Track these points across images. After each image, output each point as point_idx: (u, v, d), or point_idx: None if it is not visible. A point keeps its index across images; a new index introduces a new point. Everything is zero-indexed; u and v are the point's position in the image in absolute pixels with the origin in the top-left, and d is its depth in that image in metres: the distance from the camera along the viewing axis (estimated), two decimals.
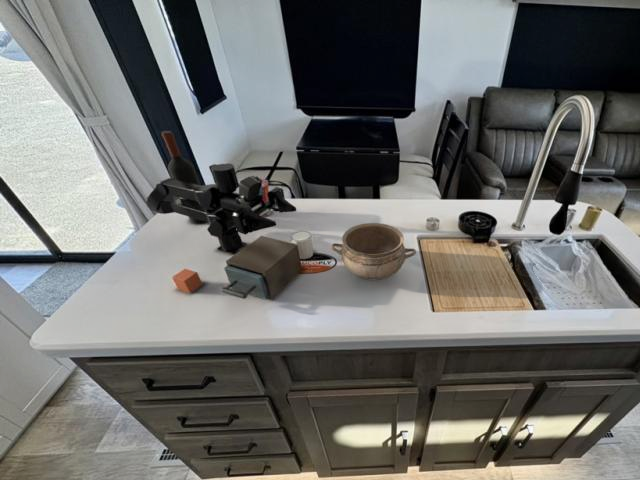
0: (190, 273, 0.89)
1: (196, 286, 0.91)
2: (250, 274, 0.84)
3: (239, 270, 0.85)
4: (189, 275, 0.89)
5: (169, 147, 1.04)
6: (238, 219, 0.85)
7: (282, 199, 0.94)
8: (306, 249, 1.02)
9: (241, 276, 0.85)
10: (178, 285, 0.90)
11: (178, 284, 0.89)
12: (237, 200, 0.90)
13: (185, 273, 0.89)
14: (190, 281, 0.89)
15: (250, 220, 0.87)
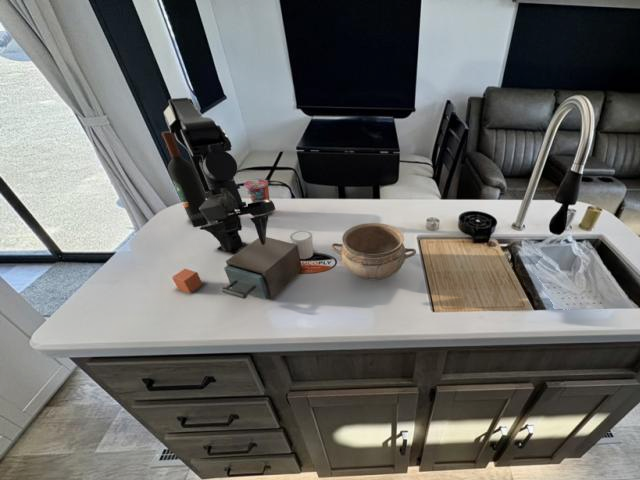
0: (190, 273, 0.89)
1: (196, 286, 0.91)
2: (250, 274, 0.84)
3: (239, 270, 0.85)
4: (189, 275, 0.89)
5: (169, 147, 1.03)
6: None
7: (257, 225, 0.77)
8: (306, 249, 1.02)
9: (241, 276, 0.85)
10: (178, 285, 0.90)
11: (178, 284, 0.89)
12: None
13: (185, 273, 0.89)
14: (190, 281, 0.89)
15: None
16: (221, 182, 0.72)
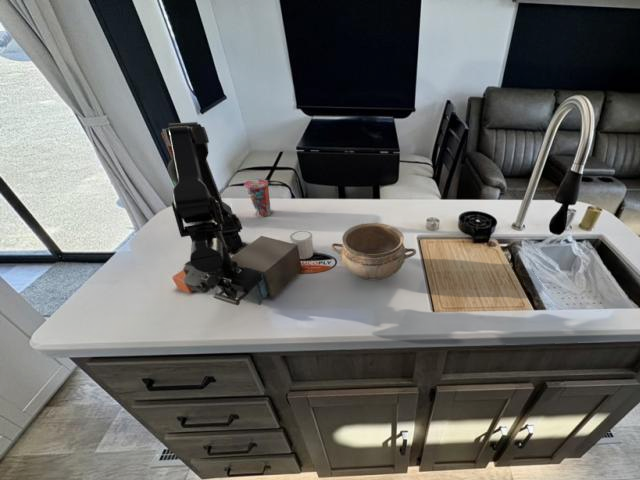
0: None
1: None
2: None
3: None
4: None
5: (169, 147, 1.03)
6: None
7: (226, 288, 0.79)
8: (306, 249, 1.02)
9: None
10: (178, 285, 0.90)
11: (178, 284, 0.89)
12: None
13: None
14: None
15: None
16: None
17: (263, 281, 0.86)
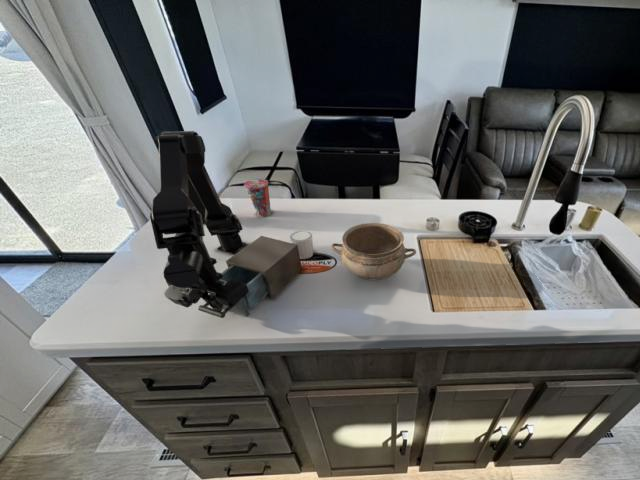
0: None
1: None
2: None
3: None
4: None
5: None
6: None
7: None
8: (306, 249, 1.02)
9: None
10: None
11: None
12: None
13: None
14: None
15: None
16: None
17: (250, 292, 0.82)
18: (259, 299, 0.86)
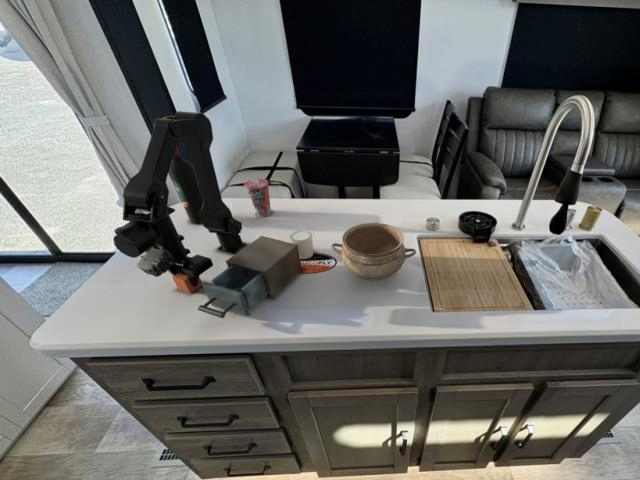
0: None
1: (196, 286, 0.91)
2: (229, 291, 0.79)
3: (217, 287, 0.80)
4: None
5: None
6: None
7: (187, 275, 0.86)
8: (306, 249, 1.02)
9: (220, 293, 0.80)
10: (178, 285, 0.90)
11: (178, 284, 0.89)
12: None
13: None
14: None
15: None
16: (160, 241, 0.79)
17: (250, 292, 0.82)
18: (259, 299, 0.86)
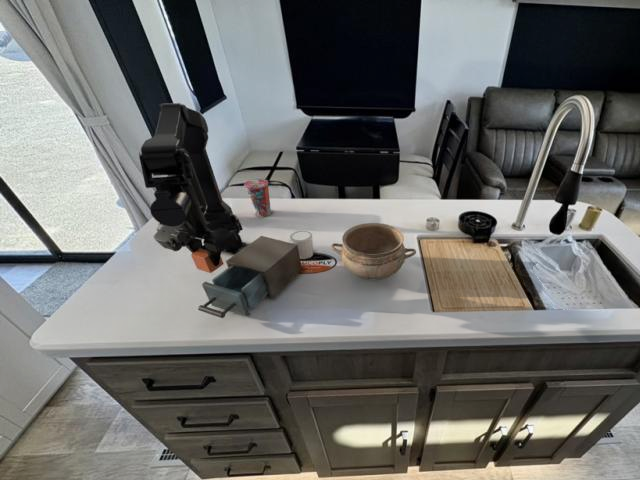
0: None
1: (217, 265, 0.82)
2: (229, 291, 0.79)
3: (217, 287, 0.80)
4: None
5: None
6: None
7: (208, 252, 0.77)
8: (306, 249, 1.02)
9: (220, 293, 0.80)
10: (197, 264, 0.80)
11: (197, 262, 0.80)
12: None
13: (205, 251, 0.80)
14: (210, 259, 0.79)
15: None
16: None
17: (250, 292, 0.82)
18: (259, 299, 0.86)
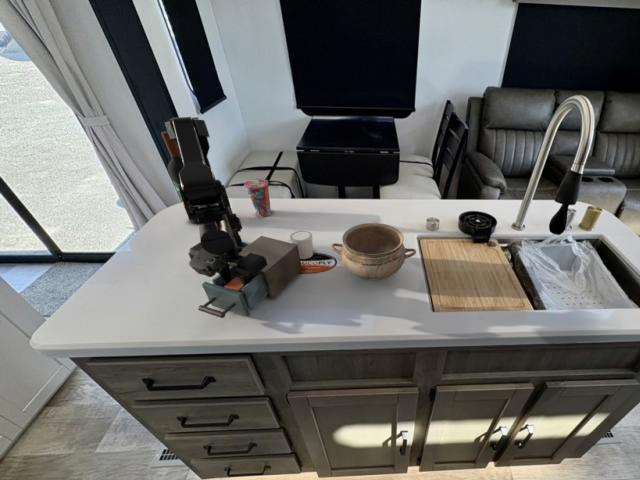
0: None
1: None
2: (229, 291, 0.79)
3: (217, 287, 0.80)
4: (242, 284, 0.84)
5: (169, 147, 1.03)
6: None
7: (240, 276, 0.79)
8: (306, 249, 1.02)
9: (220, 293, 0.80)
10: None
11: None
12: None
13: (237, 282, 0.84)
14: None
15: None
16: None
17: (250, 292, 0.82)
18: (259, 299, 0.86)
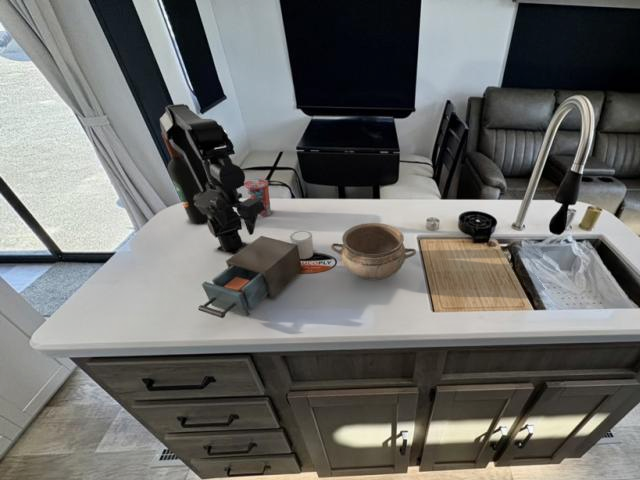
0: (243, 282, 0.84)
1: None
2: (229, 291, 0.79)
3: (217, 287, 0.80)
4: (242, 284, 0.84)
5: (169, 147, 1.03)
6: None
7: (245, 221, 0.87)
8: (306, 249, 1.02)
9: (220, 293, 0.80)
10: None
11: None
12: None
13: (237, 282, 0.84)
14: None
15: None
16: (217, 181, 0.80)
17: (250, 292, 0.82)
18: (259, 299, 0.86)
